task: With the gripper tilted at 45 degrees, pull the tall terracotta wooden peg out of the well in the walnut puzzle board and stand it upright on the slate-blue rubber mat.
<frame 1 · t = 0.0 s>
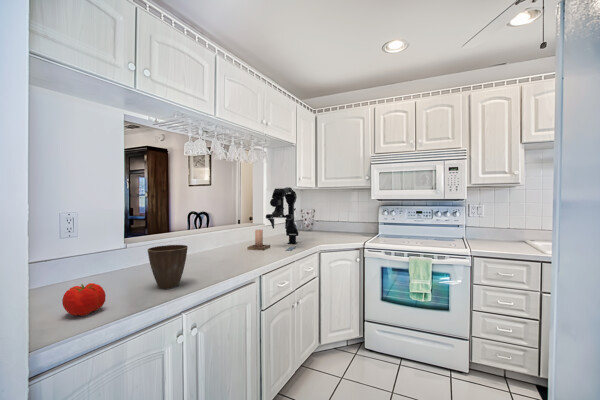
hand: (279, 228, 192), 15 cm above the worktop, tool pointing down, fingers open, 9 cm apart
plant pot: (168, 286, 114), on the worktop
tomato: (85, 313, 88), on the worktop
slate-blue mat: (285, 249, 196), on the worktop
walnut puzzle board: (259, 249, 195), on the worktop
terracotta peg: (259, 248, 195), point 1 cm above the worktop, touching walnut puzzle board
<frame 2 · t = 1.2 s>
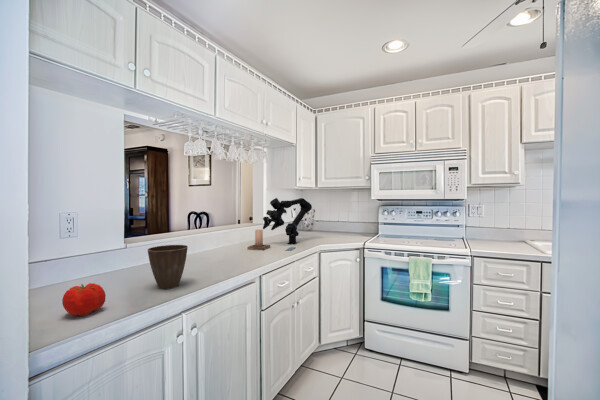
hand: (267, 229, 201), 13 cm above the worktop, tool tilted 45°, fingers open, 9 cm apart
nothing on the worktop moved.
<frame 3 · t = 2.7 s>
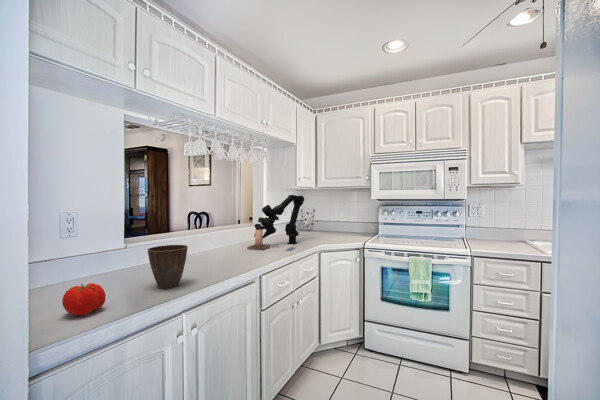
hand: (258, 237, 195), 8 cm above the worktop, tool tilted 45°, fingers open, 9 cm apart
nothing on the worktop moved.
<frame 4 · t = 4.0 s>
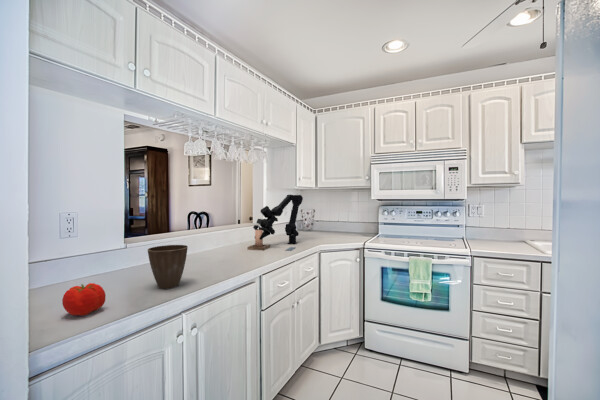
hand: (257, 238, 194), 8 cm above the worktop, tool tilted 45°, fingers closed on terracotta peg, 5 cm apart
terracotta peg: (259, 248, 195), point 1 cm above the worktop, touching gripper, walnut puzzle board
everything else where it was.
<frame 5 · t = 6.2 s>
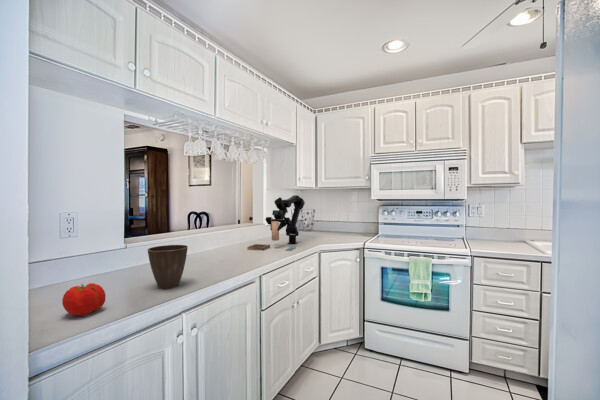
hand: (274, 230, 193), 14 cm above the worktop, tool tilted 45°, fingers closed on terracotta peg, 5 cm apart
terracotta peg: (275, 239, 194), point 7 cm above the worktop, touching gripper
everything else where it was.
when the fingers open (9 cm above the worktop, at t = 8.5 s): terracotta peg drops 1 cm, resting on slate-blue mat.
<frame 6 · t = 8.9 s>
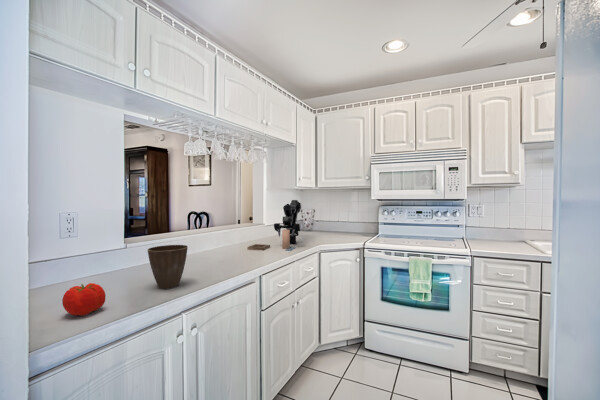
hand: (285, 236, 194), 9 cm above the worktop, tool tilted 45°, fingers open, 9 cm apart
terracotta peg: (285, 248, 196), point 1 cm above the worktop, touching slate-blue mat
everything else where it was.
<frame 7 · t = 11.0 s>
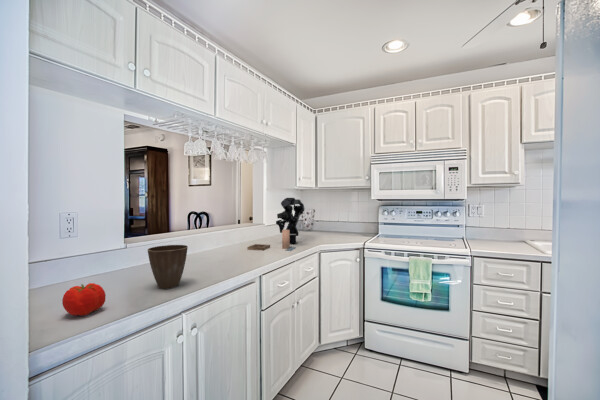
hand: (284, 231, 203), 11 cm above the worktop, tool tilted 30°, fingers open, 9 cm apart
nothing on the worktop moved.
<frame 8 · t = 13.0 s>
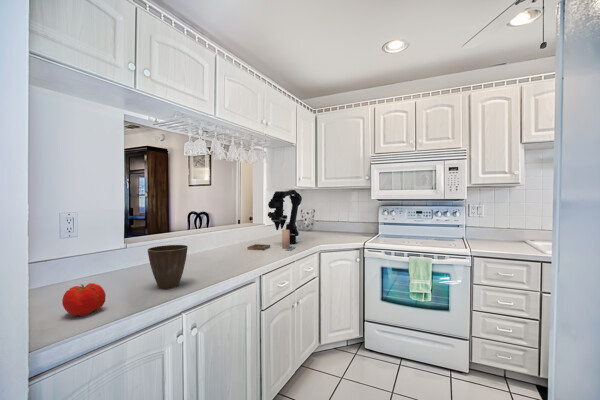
hand: (279, 229, 203), 13 cm above the worktop, tool pointing down, fingers open, 9 cm apart
nothing on the worktop moved.
at the end: terracotta peg inside the target area on the slate-blue mat (0.0 cm from its centre), point 0.5 cm above the slate-blue mat's base; terracotta peg tilted 0°; the gripper is holding nothing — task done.
